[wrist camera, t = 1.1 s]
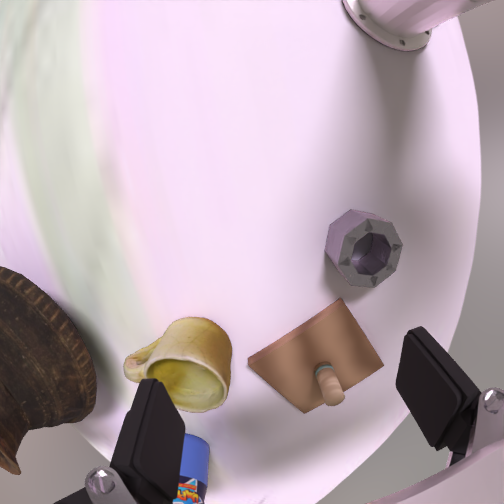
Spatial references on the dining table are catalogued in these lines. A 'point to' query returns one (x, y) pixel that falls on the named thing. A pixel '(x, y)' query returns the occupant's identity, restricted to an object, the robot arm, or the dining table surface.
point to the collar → (373, 263)
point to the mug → (187, 364)
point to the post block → (318, 359)
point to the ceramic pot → (38, 366)
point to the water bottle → (193, 471)
